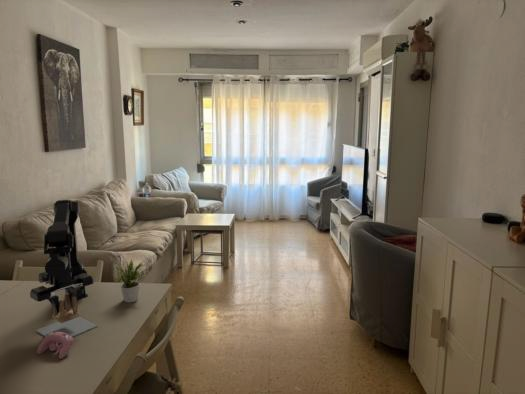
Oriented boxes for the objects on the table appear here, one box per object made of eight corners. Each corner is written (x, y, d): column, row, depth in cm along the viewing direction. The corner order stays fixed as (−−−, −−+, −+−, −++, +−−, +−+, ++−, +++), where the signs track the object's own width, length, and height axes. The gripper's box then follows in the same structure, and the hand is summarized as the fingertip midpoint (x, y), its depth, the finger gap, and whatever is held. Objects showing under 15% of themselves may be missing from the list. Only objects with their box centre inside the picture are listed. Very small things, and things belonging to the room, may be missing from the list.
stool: (69, 311, 139) (68, 292, 137) (79, 316, 135) (77, 296, 134) (52, 318, 134) (50, 298, 133) (61, 323, 130) (59, 302, 129)
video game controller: (71, 358, 120) (77, 334, 122) (60, 359, 116) (67, 334, 118) (46, 353, 123) (52, 329, 125) (34, 354, 119) (41, 329, 121)
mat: (75, 315, 145) (75, 314, 145) (97, 326, 137) (97, 325, 136) (35, 331, 134) (35, 330, 134) (56, 344, 125) (56, 343, 125)
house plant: (156, 302, 156) (154, 262, 153) (120, 311, 148) (117, 269, 145) (144, 290, 167) (142, 253, 165) (110, 298, 160) (108, 259, 157)
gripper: (75, 254, 144) (79, 295, 146) (19, 269, 129) (24, 314, 131) (92, 260, 137) (95, 303, 140) (36, 276, 122) (41, 323, 125)
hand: (65, 310), depth 134 cm, fingers closed on stool, 5 cm apart
